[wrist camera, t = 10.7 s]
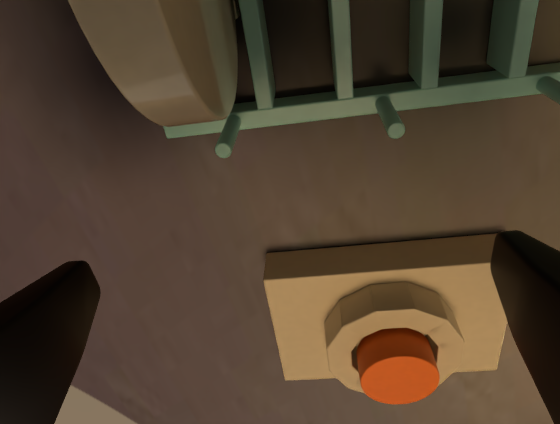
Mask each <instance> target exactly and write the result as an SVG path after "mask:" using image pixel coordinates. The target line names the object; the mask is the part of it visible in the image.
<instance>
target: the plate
mask: <svg viewBox="0 0 560 424" xmlns="http://www.w3.org/2000/svg"><path fill="white" fill-rule="evenodd" d="M68 2H69V4H70V6H71V8H72V10H73V13H74V15H75V17H76V19H77V21H78V23H79V25H80V27H81V29H82V31H83V33H84V35H85V36H86V38H87V40H88V42H89V44H90V46H91V48H92V49H93V51H94V53H95V55H96V56H97V58H98V60H99V61H100V63H101V64H102V66H103V68H104V69H105V71H106V72H107V74H108V75H109V77H110V79H111V80H112V81H113V83H114V84H115V85H116V87H117V88H118V89H119V91H120V92H121V93H122V95H123V96H124V97H125V98H126V99H127V100H128V101H129V103H130V104H131V105H132V106H133V107H134V108H135V109H136V110H137V111H138V112H139V113H141V114H142V115H143V116H144V117H146V118H147V119H148V120H150V121H152V122H154V123H156V124H158V125H161V126H166V127H172V126H181V125H189V124H197V123H205V122H213V121H220V120H224V119H225V118H227V117H228V116H229V114H230V113H231V111H232V108H233V105H234V101H235V96H236V89H237V75H238V53H237V34H236V22H235V19H237V18H238V17H239V16H240V13H239V7H238V2H237V0H68Z"/></svg>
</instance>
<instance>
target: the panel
mask: <svg viewBox="0 0 560 424" xmlns="http://www.w3.org/2000/svg"><path fill="white" fill-rule="evenodd" d="M495 236H496V234H485V235H473V236H462V237H450V238H438V239H426V240H415V241H403V242H391V243H379V244H368V245H356V246H344V247H332V248H321V249H309V250H297V251H285V252H274V253H267V254H266V262H265V271H264V280H263V281H264V286H265V290H266V295H267V300H268V304H269V309H270V313H271V318H272V323H273V327H274V332H275V336H276V341H277V345H278V350H279V355H280V359H281V364H282V368H283V373H284V378H285V380H306V379H326V378H337V379H338V380H339V381H340V382H342V383H343V384H344V385H345V386H346V387H347V388H349V389H352V390H356V391H359V392H362V393H365V392H364V391H363V390H362V388H361V384H360V377H359V370H358V362H357V355H356V351H357V347H358V345H359V343H360V342H361V340H362V339H363V338H364V337H365V336H367V335H370V334H372V333H374V332H376V331H378V330H381V329H390V328H406V327H407V328H410V329H413V330H416V331H419V332H420V333H422V334H423V335H424V336H425V337H426V338H427V339H428V341H429V343H430V346H431V349H432V352H433V355H434V358H435V362H436V365H437V368H438V371H439V375H440V380H439V384H438V385H440V384H441V383H442V382H443V381H444V380H445V379H447V378H448V377H449V376H450V375H451V374H452V373H453V372H466V371H486V370H497V366H498V361H499V357H500V352H501V347H502V343H503V338H504V334H505V329H506V325H507V318H506V315H505V312H504V309H503V307H502V304H501V301H500V298H499V295H498V292H497V289H496V286H495V283H494V280H493V277H492V274H491V269H490V262H491V257H492V251H493V245H494V240H495Z"/></svg>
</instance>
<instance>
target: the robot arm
mask: <svg viewBox="0 0 560 424" xmlns="http://www.w3.org/2000/svg"><path fill="white" fill-rule="evenodd" d="M490 269H491V274H492V277H493V280H494V283H495V286H496V289H497V292H498V295H499V298H500V301H501V304H502V307H503V309H504V312H505V315H506V318H507V321H508V324H509V327H510V330H511V333H512V335H513V338H514V340H515V342H516V345H517V347H518V349H519V351H520V353H521V355H522V358H523V360H524V362H525V364H526V366H527V368H528V370H529V372H530V374H531V376H532V378H533V380H534V382H535V385H536V387H537V389H538V391H539V393H540V395H541V397H542V399H543V401H544V403H545V405H546V407H547V409H548V412H549V414H550V416H551V418H552V420H553V422H554V424H560V251H558V250H556V249H554V248H552V247H550V246H548V245H546V244H544V243H542V242H540V241H538V240H537V239H535V238H533V237H531V236H529V235H527V234H525V233H523V232H521V231H517V230H516V231H502V232H499V233H497V234H496V236H495V240H494V245H493V251H492V257H491V262H490ZM99 299H100V287H99V284H98V282H97V280H96V278H95V276H94V274H93V272H92V270H91V268H90V266H89V264H88V263H87V262H86V261H69V262H66V263H64V264H62V265H61V266H59V267H58V268H56V269H54V270H53V271H51V272H49V273H48V274H46V275H45V276H43V277H41V278H40V279H38V280H36V281H35V282H33V283H32V284H30V285H28V286H27V287H25V288H23V289H22V290H20V291H18V292H17V293H15V294H14V295H12V296H10V297H9V298H7V299H5V300H4V301H2V302H1V303H0V424H54V423H55V421H56V418H57V416H58V413H59V411H60V408H61V406H62V403H63V401H64V399H65V396H66V394H67V392H68V389H69V387H70V385H71V382H72V380H73V377H74V375H75V373H76V370H77V368H78V365H79V363H80V360H81V357H82V355H83V352H84V349H85V346H86V342H87V339H88V336H89V332H90V329H91V326H92V322H93V319H94V316H95V312H96V309H97V306H98V302H99Z"/></svg>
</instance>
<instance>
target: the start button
mask: <svg viewBox="0 0 560 424" xmlns="http://www.w3.org/2000/svg"><path fill="white" fill-rule="evenodd" d="M356 355H357V362H358V370H359V377H360V384H361V388H362V390H363V391H364V392H365V394H366V395H368V396H369V397H370V398H372V399H374V400H376V401H379V402H382V403H387V404H406V403H411V402H415V401H418V400H421V399H423V398H425V397H427V396H428V395H430V394H431V393H432V392H433V391H434V390H435V389H436V388H437V386H438V384H439V380H440V375H439V371H438V368H437V365H436V362H435V358H434V355H433V352H432V349H431V346H430V343H429V341H428V339H427V338H426V337H425V336H424V335H423V334H422V333H420V332H419V331H416V330H413V329H410V328H407V327H406V328H390V329H381V330H378V331H376V332H374V333H372V334H370V335H367V336H365V337H364V338H363V339H362V340H361V342H360V343H359V345H358V347H357V351H356Z"/></svg>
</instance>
